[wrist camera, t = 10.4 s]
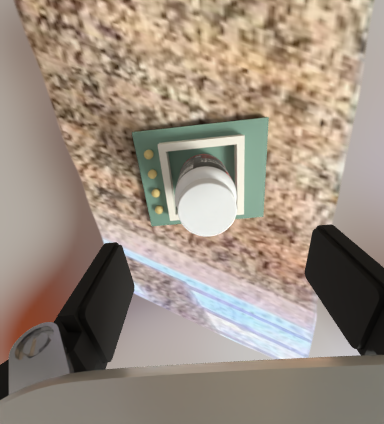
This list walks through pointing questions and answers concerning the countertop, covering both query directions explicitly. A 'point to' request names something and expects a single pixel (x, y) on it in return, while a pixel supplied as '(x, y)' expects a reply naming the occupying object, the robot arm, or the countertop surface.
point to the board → (203, 144)
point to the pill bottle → (205, 196)
